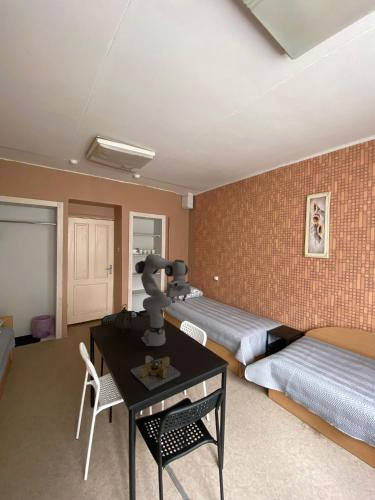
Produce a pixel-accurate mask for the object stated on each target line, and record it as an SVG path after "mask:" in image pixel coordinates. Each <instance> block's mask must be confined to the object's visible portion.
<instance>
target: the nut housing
mask: <svg viewBox="0 0 375 500" xmlns="http://www.w3.org/2000/svg"><path fill="white" fill-rule="evenodd" d="M160 359H162V358H160V357H159V358H157V359H154V362H153V363H152V370H158V365H159V363H160ZM144 365H146V363H144V364H142V365H139V366H136V367H134V368H131V369H130V373H131V374H132V375H133V376H134V377H135V378H136V379H137V380H138V381H139V382H140V383H141V384H142V385H143V386H144V387H145V388H146V389H147V390H148V391H152V390H154V389H155V388H157V387H160V386H162V385H163V384H164V385H165V384H166V383H168V382H170V381H172V380H174V379H176V378H179V377H180V376H181V371H179V370H178V369H176V368H175V367H174V366H172V365H170V366H167V367H165V368H167V376H166V378H164V379H163V378H162V377H160V376H159V375H157V376H153V375H147V376H144V377H141V376H140V367H142V366H144Z"/></svg>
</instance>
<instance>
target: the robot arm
mask: <svg viewBox="0 0 375 500" xmlns="http://www.w3.org/2000/svg"><path fill="white" fill-rule="evenodd" d="M134 269H135V272H136V274H140V275H141V276H140V280H141V284H142V286H143V289H144V291H145V293H146V295H147V296H148V297H146V298H144V299H143V301H142V308H143V309H144V310H145V311H146V312H147V313H148V314H149V326H148V329H147V330H146V331H144V334H143V336H142V337H141V338H140V339H141V341H142V342H143V343H144V344H145V346H147V347H148V346H149V347H160V346H163V345H164V344H165V343H166V340H167V338H166V332H165V325H164V324H165V323H164V322H165V319H164V315H163V314H162V313H161V312H159V310H160V309H165V308H167V307H169V306H170V305H171V303H172V304H176V300H174V299H175V298H176V297H181V296H183V298H182V300H181V301H182V302H186V298H187V296H188V295H190V294H191V292H192V291H191V283H190V281H186V275H187V274H188V272H189V267H188V265H187V264H186V263H185V261H184V260H183V259H175V260H174V261H173V260H169V259H166V258H164V257H162V256H159V255H158V254H154V253H152V254H151V253H150V254H147V255H146V256H145V260H140V261H137V262H136V263H135V266H134ZM159 270H164V274H165V275H166V276H167V277H169V278H171V277H172V280H170V281H168V282H167V283H166V291H165V293H164V291H162V290H161V289H160V288H159V287H158V284H157V283H156V280H155V278H154V275H156V273H158V272H159Z"/></svg>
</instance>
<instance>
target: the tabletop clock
mask: <svg viewBox="0 0 375 500" xmlns="http://www.w3.org/2000/svg"><path fill="white" fill-rule="evenodd" d="M127 306H128V305H127V303H124V304H123V305H122V306H121V308H122V309H121V311H120V312H118V313H116V315H115V327H116V328H119V329H120V330H121V333H123V334H124V329H131V327H130V326H131V325H132V324H133V312H132V311H131V310H128V309H127Z"/></svg>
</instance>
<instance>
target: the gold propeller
mask: <svg viewBox="0 0 375 500" xmlns="http://www.w3.org/2000/svg"><path fill="white" fill-rule="evenodd" d="M154 360H155V359H154V358H153V357H152V356H151V355H145V364H146V365H144V364H143V365H144V366H142V367H140V376H141V377H144V376H147V375H153V376H157V375H159V376H160V377H162V378H163V379H164V378H166V376H167V368H165V367H167V366H170V364H171V363H170V361H171V359H170V357H169V356H165V357H162V358H161V359H160V363H159V365H158V370H152V363H153V362H154Z"/></svg>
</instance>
